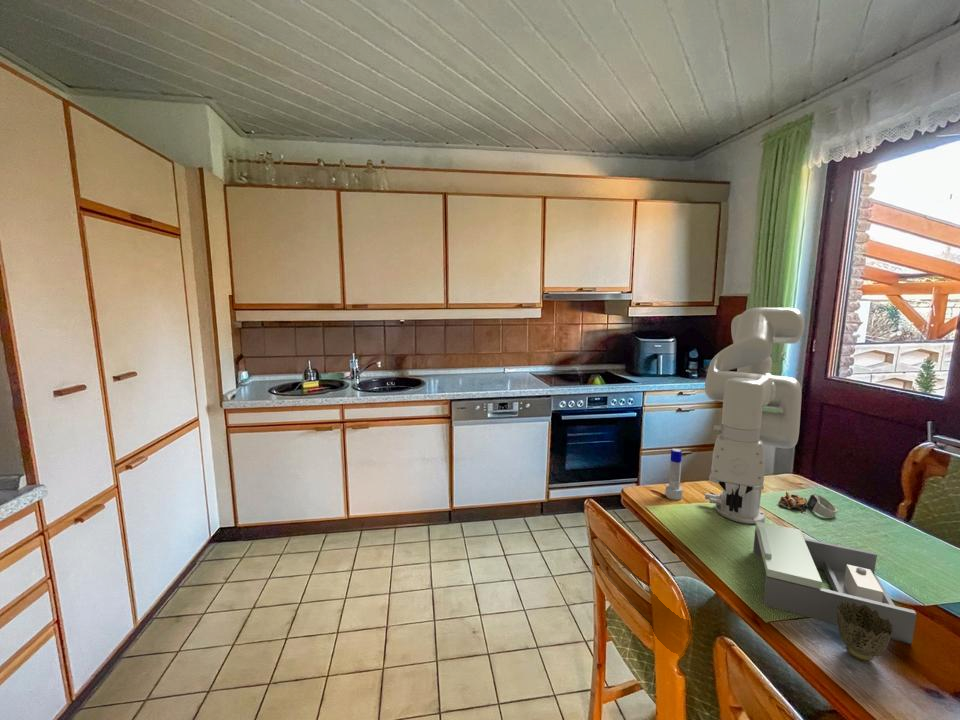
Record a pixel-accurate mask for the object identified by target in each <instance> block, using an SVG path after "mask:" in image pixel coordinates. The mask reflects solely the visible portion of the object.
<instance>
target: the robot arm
mask: <svg viewBox="0 0 960 720" xmlns="http://www.w3.org/2000/svg"><path fill="white" fill-rule="evenodd" d="M730 325H731V326H730V328H731V329H730V330H731V339H732V344H730V345H728V346H727V347H724V348H723V349H721V350H720V351H719V352H718V353H717V354H716V355H715V354H714V357H713V358H712V359H711V361H710V363H709V366H708V370H707V373H706V377H705V382H704V391H705V395H706V396H707V398H709V399H711V400H713V401H716V402H722V414H721V422H720V423H719V424H717V425H716V424H714V425H713V431H714V432H718V433H719V434H717V436H716V438H715V441H714V442H715V443H714V446H713V451H712V457H711V467H710V468H711V471H710V474H709V477H708V479H709V481H710V483H713V484H716V485H719V487H721V488H722V491H720V493H717V494H713V493H708V492H705V493H704V500H707V501H709V503H710V504H715V510H716V512H717V513H718V514H719V515H721V516H723V517H724V518H726V519H729V520H731V521H733V522H738V523H741V524H748V525H749V524H752V525H754V524H755V525H756V521H757V522H762V523H764V522H765V520H766V513H765V512H764V511H763V510H762V509H761V508H760V507H761V496H762V490H764V488H765V487H764V481H765V466H766V465H765V463H766V462H765V461H766V459H765V455H766V454H765V446H766V447H772V448H773V447H774V448H780V449H792V448H794V447H795V446H796V445H797V444H798V441H799V435H800V425H801V411H802V410H801V409H802V397H803V395H802V392H803V391H802V386H801V383H800V382H799V380H797V379H796V378H795V377H790V376H787V375H774V374H772V366H773V359H772V357H771V355H772V353H773V345H774V344H788V345H789V344H796V343H798V342H799V341H800V340H801V338H802V336H803V334H804V331H805V317H804V314H803V313H802V311H801V310H799V309H798V308H793V307H765V306H764V307H752V308H748V309H747V310H744V311H743V312H742V313H741V314H737V315H736V316H734V317H733V318H732V320H731V324H730ZM735 369H737V370H736V371H734V370H735ZM732 370H733V371H732ZM763 408H764V409H773V410H777V411H779V412H776V411H774V412H773V411H765V410H763Z"/></svg>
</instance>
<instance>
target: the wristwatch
mask: <svg viewBox="0 0 960 720" xmlns="http://www.w3.org/2000/svg"><path fill="white" fill-rule="evenodd" d="M806 507H807V509H809V511H810V512H811V513H812V512H813V513H814V512H815V513H816V514H818V515H819V516H822V517H823V518H827V519H833V518H835V516H836V514H837V513H838V509H837V507H836V505H835V504H834V503H832V502H831V501H829V500H828V499H827V498H825V497H824V496H822V495H820V494H817V493H811V494H810V496H809V497H808V498H807V506H806Z"/></svg>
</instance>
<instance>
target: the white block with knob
mask: <svg viewBox="0 0 960 720" xmlns="http://www.w3.org/2000/svg"><path fill="white" fill-rule="evenodd" d="M844 586H845V589H846V591H847V593H848V595H852V596H857V597H861V598H865V599H869V600H873V601H877V602H882V599H883V590H882V589H881V587H880V585H879V584H878V582H877V580H876V578H875V577H874V575H873V573H872V572H871V570H870V569H866V568H861V567H857V566H852V565H848V564H847V565H846V572H845V580H844Z"/></svg>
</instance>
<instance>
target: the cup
mask: <svg viewBox="0 0 960 720" xmlns="http://www.w3.org/2000/svg"><path fill="white" fill-rule="evenodd" d="M837 621H838V625H837V630H838V634H839V637H840V639H841V641H842V642H843V644H844V645H845V649H846V652H847V653H848V655H849V656H851V658H854V659H855V660H857V661H859V662H862V663H870V662H872V661H873V660H874V658H876V657H879V656H881V655H882V654H884V653H885V651H886V650H887V648H888V645H889V643H890V640H891V639H890V637H891V634H892V632H893V628H894V625H893V624H890V620H889V619H885V621H884V620H883V618H880V617H879V612H878V611H877V610H874V611H872V610H871V609H870V608H869V607H868V606H866V605H861V606H858V607H857V604H856V603H855V602H853V603H852V605H851V606H850V604H849V603H848V602H845V603H844V604H843V602H842V603H841V605H840V607H839V605H838V607H837Z"/></svg>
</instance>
